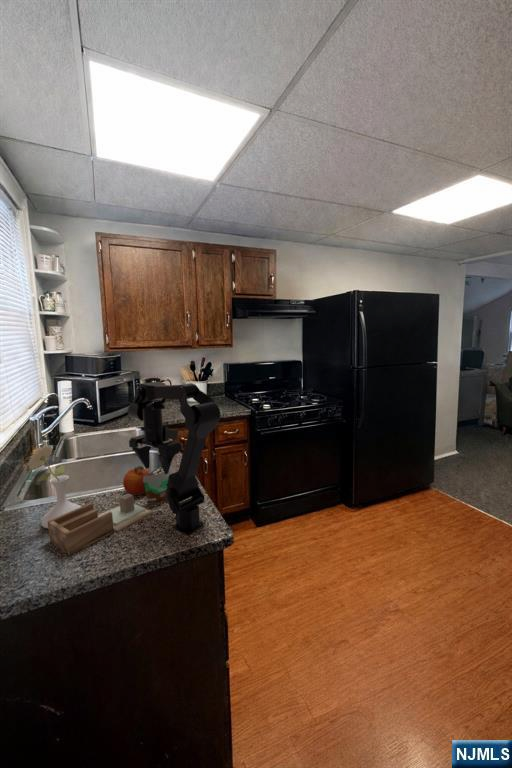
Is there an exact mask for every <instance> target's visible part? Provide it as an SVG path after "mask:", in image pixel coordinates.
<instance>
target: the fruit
mask: <svg viewBox="0 0 512 768" xmlns="http://www.w3.org/2000/svg"><path fill="white" fill-rule="evenodd" d="M150 473H151V472H149V471H148V470H147V469H146V468H145V467H144V466H142V465H139V466H137V467H136V466H135V467H134V469H130V470H128V471H127V472H126V474H124V477H123V482H122V485H123V488H124V491H125V492H127V493H128V494H131V495H133V496H139V495H142V494H144V493H146V490H145V483H144V482H143V478H144V476H148V475H149V474H150Z"/></svg>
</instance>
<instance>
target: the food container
mask: <svg viewBox="0 0 512 768" xmlns="http://www.w3.org/2000/svg"><path fill="white" fill-rule="evenodd" d="M149 473H150V474H149V475H148V476H144V478H143V482H144V483H145V490H146V492H145V495H146V502H147V503H148V504H155V503H159V502H162V501H165V500H166V498H167V496H166V491H167V486H166V484H167V483H168V477H169V475H170V474H172V469H171V467H170V469H169V473H168V474H165V473H164V471H163V468H162V465H160V466H158V468H155V469H154V470H152V471H151V472H149Z"/></svg>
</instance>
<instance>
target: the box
mask: <svg viewBox="0 0 512 768" xmlns="http://www.w3.org/2000/svg"><path fill="white" fill-rule="evenodd" d="M98 515H99V514H98V510H97V509H96V508H94V502H93V503H92V502H90V503H87V504H85V505H83V506H81V507H80V508H78V509H75V510H73V511H71V512H69V513H66V514H64V515H62V516H59V517H57V518H55V519H52V520H50V521H48V528H47V529H48V536H49V542H50V543H51V544H53V545H54V546H56V547H57V548H59V549H60V550H62V552H63V553H66V554H67V555H69V556H72V555H73V554H75V553H77V552H80V551H81V550H83V549H84V548H86V547H89V546H90V545H92V544H94V543H96V542H97V541H100V540H101V539H103V538H105V537H107V536H108V535H110V534H112V533H114V532H115V530H114V528H113V517H112V512H108V513H106V514H104V515H102V516H100V517H98Z"/></svg>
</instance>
